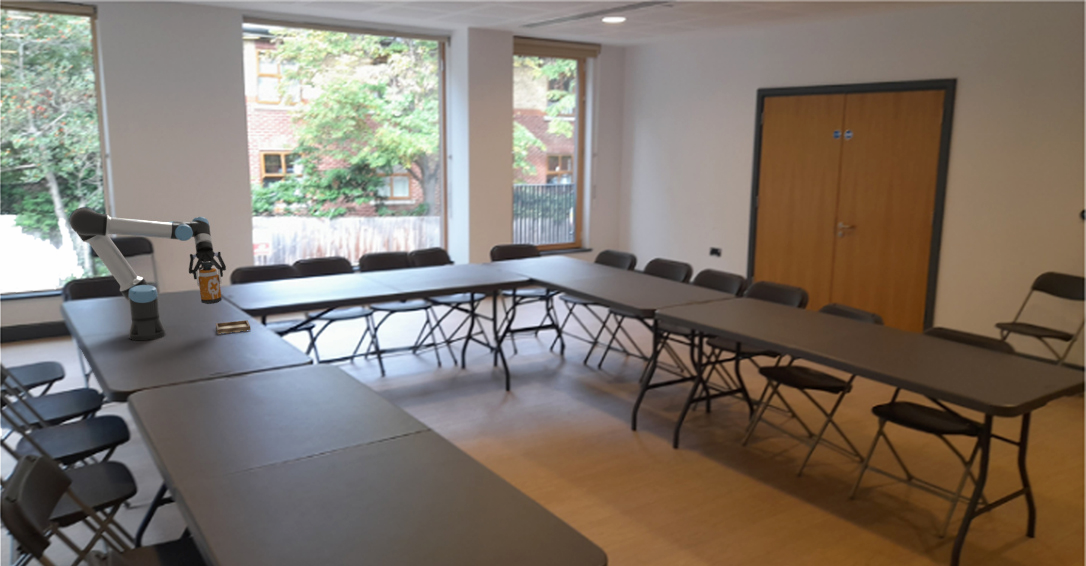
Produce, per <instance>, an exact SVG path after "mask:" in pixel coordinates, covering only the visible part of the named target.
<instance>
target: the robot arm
mask: <svg viewBox="0 0 1086 566" xmlns="http://www.w3.org/2000/svg"><path fill="white" fill-rule="evenodd" d="M68 220H69V224H70V227H71V229H72V230H73V231H74V232H75V233H76V234H77V236H78V237H79V238H80V240H81V241H82V242H84V243H88V244H89V245H90V246H91V248H92V249H93V251H94V252H95V254H96V255H97V256H98V258H99V259H100V260H101V262H102V263H103V265H104V266H105V267H106V268H107V269H108V271H109V273H110V274H111V275H112V276H113V277H114V280H116V282H117V283H118V284H119V286H120V288H119V292H120V293H121V294H122V296H123V297H124V299H125V300H126V301H127V302H128V304H129V308H130V316H131V323H130V328H129V332H128V338H130V339H129V340H131V339H132V341H147V340H148V339H150V340H155V338H156V339H159V338H163V337H164V335H165V336H166V329H165V327H164V325H163V323H162V321H161V318H160V317H161V316H160V308H159V297H158V295H159V294H158V290H157V288H156V286H154V285H150V284H149V283H148V282H147V280H145V278H144V277H143V276H139V275H138V274H137V273H136V272H135V270H134V269H133V267H132V266H131V265H130V263H129V262H128V261H127V259H126V258H125V256H124V255H123V254H122V252H121V251H120V249H119V248H118V247H117V245H116V244H115V243H114V242H113V240H112V239H111V237H110V236H109V234H110V235H119V236H132V237H143V238H155V239H156V238H157V239H159V238H160V239H168V240H179V241H182V242H186V241H189V240H190V239H192V238H194V245H195V252H196V253H195V254H192V253H190V254H189V265H188V273H189V274H190V275H191V274H192V275H193V279H194V280H196V283H197V287H199V278H198V277H199V270H198V267H201V265H200V266H199V263H200V262H201V261H202V262H205V260H206V261H207V262H212V263H213V264H214V265H213V266H214V267H215V269H216V270H217V274H218V275H219V282H220V285H221V284H222V278H223V277H224V274H223V273H224V272H223V271H226V270H227V266H226V264H225V261H224V259H223V258H222V254H221V251H217V252H215V251H214V247H213V241H212V240H213V239H212V236H211V230H210V229H211V227H210V223H209V220H208V218H207V217H204V216H198V217H193V219H192V220H191V221H179V220H178V221H176V220H175V221H174V220H173V221H167V222H165V221H154V220H145V219H144V220H143V219H134V218H123V217H115V216H114V217H113V216H110V215H109V214H107V213H106V214H104V213H99V212H97V211H95V209H92V208H90V207H87V206H82V207H79V208H76V209H75V210H73V211H72V212H71V213H70V215H69V218H68ZM214 257H216V258H217V260H218V261H217V260H216V259H215V258H214ZM195 259H197V261H196V264H195V265H194V261H195ZM162 336H163V337H162ZM148 341H149V340H148Z"/></svg>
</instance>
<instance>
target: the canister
mask: <svg viewBox="0 0 1086 566" xmlns="http://www.w3.org/2000/svg"><path fill="white" fill-rule="evenodd" d="M199 266H200V267H198V278H199V286H198V287H199V293H200V301H201V303H202V304H205V305H214V304H217V303H219V302H221V301H222V300H223V299H222V292H221V291H222V290H221V284H220V282H219V275H218V269H217V268H216V267H215V268H214V267H213V266H214V264H213V263H212V262H210V261H209V262H207V261H206V260H205V262H202V261H201V262H200V263H199Z"/></svg>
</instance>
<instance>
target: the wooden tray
mask: <svg viewBox="0 0 1086 566" xmlns="http://www.w3.org/2000/svg"><path fill="white" fill-rule="evenodd" d="M215 329H216V332H217V333H216V334H217V335H222V334H221V333H226V334H231V332H235V333H241V332H240V331H244V332H248V331H247V330H251V324H250V323H249V321H248V320H247V319H245V320H244V319H243V320H236V321H225V322H218V323H217V322H216V323H215Z"/></svg>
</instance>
